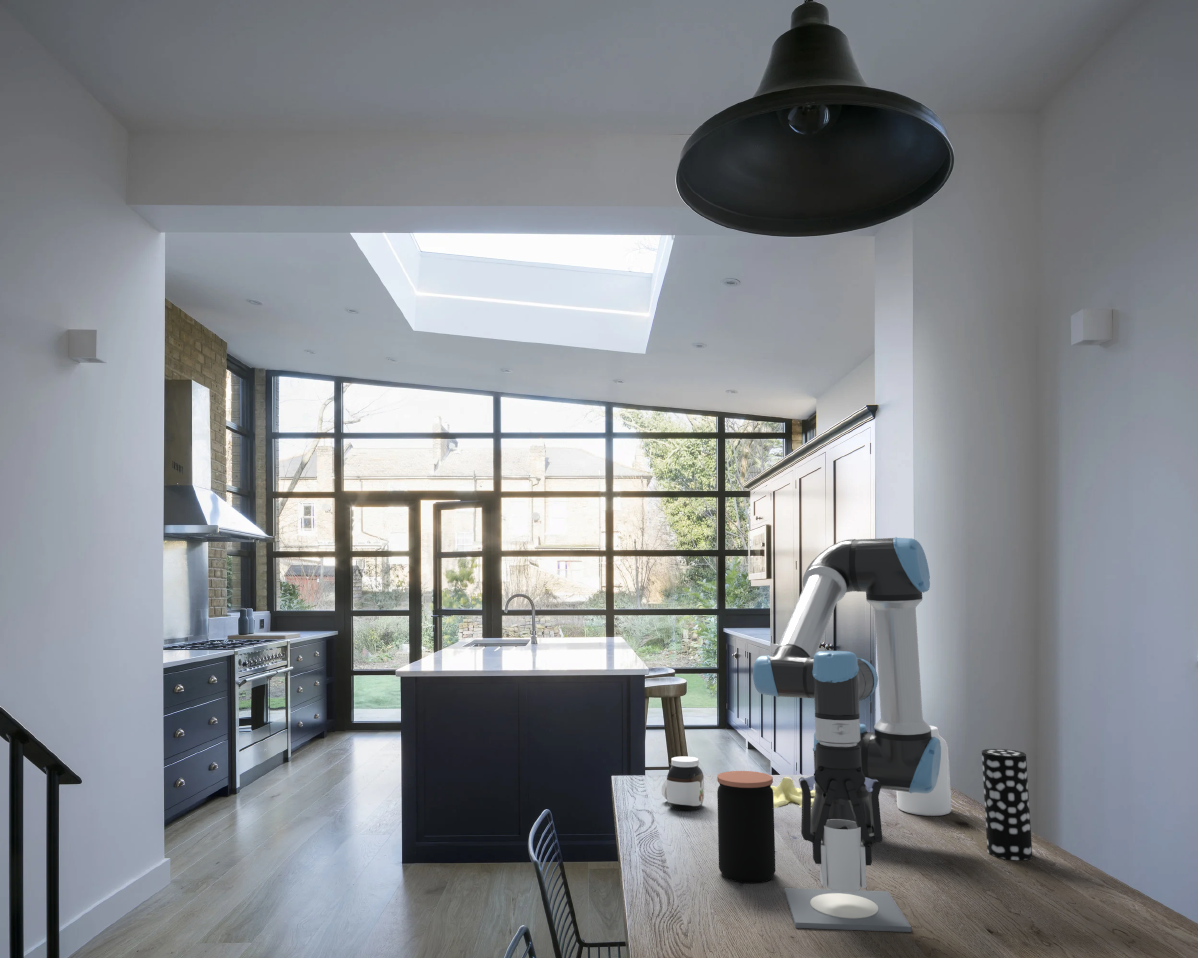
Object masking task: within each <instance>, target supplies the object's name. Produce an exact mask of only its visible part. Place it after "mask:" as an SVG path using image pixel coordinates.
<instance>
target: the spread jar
mask: <svg viewBox="0 0 1198 958" xmlns="http://www.w3.org/2000/svg"><path fill="white" fill-rule="evenodd" d="M699 761H700V760H699V758H698V757H695V756H688V755H687V756H686V755H685V756H684V755H683V756H682V755H681V756H674V757H671V767H670V768H669V770H668V773H667V775H666V779H665V780H664V781H663V784H662V786H661V795H662V797H663V798H664V799H666V801H667V804H668V806H669V807H670V808H672V809H673V810H675V811H683V812H691V811H697V810H699V809H701V808H702V806H703V803H704V799H705V777H704V772H703V770H702V768H700V766H699V765H700V762H699Z"/></svg>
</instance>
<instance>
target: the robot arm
mask: <svg viewBox="0 0 1198 958" xmlns="http://www.w3.org/2000/svg"><path fill="white" fill-rule="evenodd" d="M930 578H931V577H930V569H929V562H928V560H927V556H926V554H925V550H924V549H923V546H922V544H921V543H920V541H918V540H917V539H915V538H912V537H911V538H908V537H897V536H895V537H886V538H861V539H856V538H854V539H853V538H851V539H844V540H841V541H838V542H836V543H834V544H832V545H830V546H828V547H827V548H826V549H824V550H822V552H820V553H819V554H818V555H817V556H816V557H815V558H814V559H813V560H812V561H811V563H810V564H809V565H808V567H807V568H806V570H805V572H804V575H803V577H802V590H801V592H800V595H799V597H798V599H797V602H796V604H795V605H794V608H793V610H792V612H791V614H790V617H789V619H788V621H787V624H786V626H785V628H784V630H783V633H782V635H781V637H780V640H779V642H778V643H777V646H776V649H775V651H774V652H773V654H772V655H770V654H766V655H760V656H758V657H757V658H756V659H755V661H754V663H753V667H752V669H753V670H752V680H753V684H754V687H755V690H756V691H757V692H758V693H759V694H760V695H765V696H773V697H776V698H780V697H781V698H782V697H783V698H799V699H801V698H802V699H814V700H813V702H814V730H815V731H814V734H813V748H812V751H813V769H814V771H813V772H814V773H813V775H812V776H809V777H803V776H801V777H799V779H798V783H799V786H800V788H801V790H802V808H801V825H800V827H801V829H800V831H801V832H800V833H801V836H802V838H803V840H804V841H807V842H810V843H812V859H813V862H814V863H815V865H819V882H820V883H821V886H822V887H827V868H826V846H825V845H824V844H823V843H822V837H823V833H824V826H826V822H827V820H830V819H842V820H849V821H854V822H856V824H857V827H858V828H859V827H861V847H860V853H861V888H862V889H866V888H868V887H867V866H871V865H872V864H873V861H872V859H873V858H872V856H873V855H872V847H873V845H874V844H876V843H881V842H882V841H883V830H882V819H881V811H880V810H881V809H880V799H879V797H880V793H881V790H889V791H895V792H896V791H904V792H909V793H929V792H931V791H932V790H933V789H934V788H935V785H936V783H937V779H938V775H939V769H940V760H941V746H940V740H939V739H938V738H936V737H932V736H931V727H930V726H929V725H930V724H928V723H927V722H926V721H925V720H924V718H923V717H924V716H923V703H922V686H921V673H920V658H919V657H920V656H919V643H918V641H919V640H918V626H917V625H918V623H917V609H916V608H917V606H918V605H919V604H921V602H923V594H924V593H926V592H928V591H929V590H930V588H931V587H930V586H931V582H930V581H931V579H930ZM851 592H857V593H859V592H865V599H866V600H865V601H866V602H867V603H868V604H870V605H871V606H872V607H873V609H874V610H873V611H874V625H875V626H874V627H875V645H876V660H877V661H876V662H877V670H876V669H875V667H874V665H872V663H871V662H869V661H867V660H866V659H863V658H861V657H857V654H856V653H854V652H852V651H846V650H825V651H824V650H822V651H820V650H819V648H820V646H821V642H822V641H823V638H824V635H825V633H826V630H827V628H828V625H829V623H830V620H831V617H832V615H833V614H834V610H835V608H836V605H837V602H839V601H841V600H842V599H843V598H844V597H845V595H846V594H847V593H851ZM877 687H878V693H879V709H880V710H879V711H880V719H879V720H877V722H876V723H875V724H874V727H873V729H874V730H873V731H874V732H872V731H871V732H870V731H868V728H867V726H866V725H867V724H864V723H861V722H860V721H861V719H860V701H862V700H866V699H868V698H869V697H870V696H871V695H873V693H875V691H876V689H877ZM812 790H815V797H813V799H814V802H813V805H812V807H811V798H812V796H811V792H810V791H812Z"/></svg>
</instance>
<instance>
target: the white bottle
mask: <svg viewBox="0 0 1198 958" xmlns="http://www.w3.org/2000/svg"><path fill="white" fill-rule="evenodd" d="M928 725H929V726H930V727H931V736H932V737H936V738H938V739H939V740H940V746H941V760H940V769H939V775H938V779H937V783H936V785H935V788H934V789H933V790H932V791H931V792H929V793H909V792H904V791H896V790H895V792H896V805H897V806H896V807H897V808H898V809H899V810H900V811H902V812H905V813H908V814H911V815H917V816H924V817H926V816H927V817H938V816H944V815H948V814H950V813H951V812H952V795H951V778H950V777H951V776H950V756H949V745H948V743H947V740H946V739H945V738H944V737H942V736H941V735H940V731H939V728H938V727H937V726H935V725H930V724H928Z"/></svg>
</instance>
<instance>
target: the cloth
mask: <svg viewBox="0 0 1198 958" xmlns="http://www.w3.org/2000/svg"><path fill="white" fill-rule="evenodd" d="M771 788H772V789H773V798H774V809H778V808H780V807H782V806H786V805H788V803H789V804H790V803H791V802H792V803H795V804H797V805H799V806H798V808H801V809H802V790H801V787H800V788H799V787H795V783H794V780H793V779H792V778H791V777H788V776H784V777H782V779H781V781H780V782H779V784H778V785H777V786H775V785H771ZM810 792H811V808H812V805H813V802H814V798H815V789H813V790H812V791H810ZM812 797H813V798H812Z"/></svg>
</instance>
